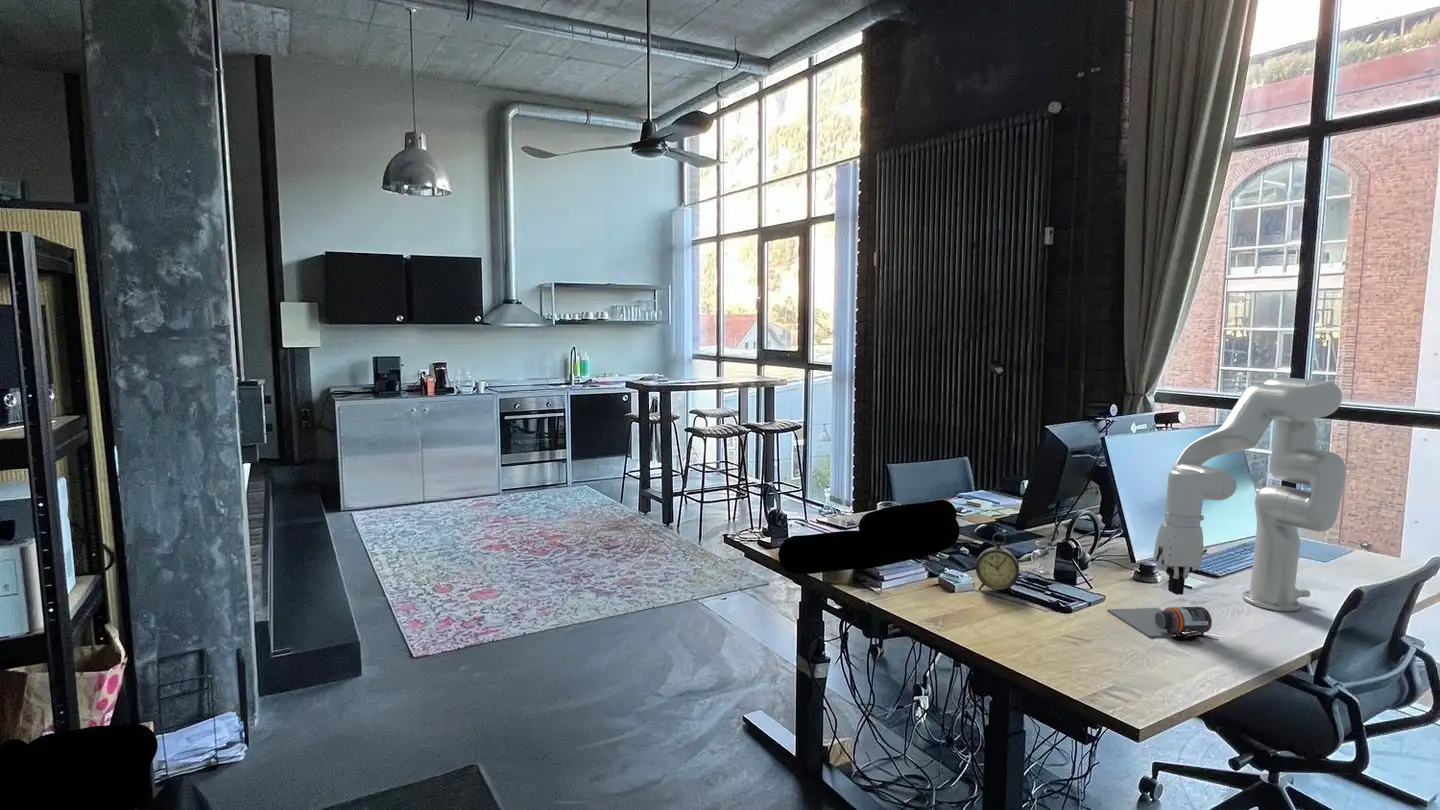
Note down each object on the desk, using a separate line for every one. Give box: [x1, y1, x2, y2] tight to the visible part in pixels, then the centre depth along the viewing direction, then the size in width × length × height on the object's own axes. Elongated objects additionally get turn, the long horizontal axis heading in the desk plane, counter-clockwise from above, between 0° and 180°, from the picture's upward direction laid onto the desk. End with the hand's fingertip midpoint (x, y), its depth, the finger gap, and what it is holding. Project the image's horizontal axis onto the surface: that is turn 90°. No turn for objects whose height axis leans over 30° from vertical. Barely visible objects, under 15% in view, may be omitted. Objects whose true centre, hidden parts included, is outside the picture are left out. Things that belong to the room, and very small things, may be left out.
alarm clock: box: [975, 532, 1020, 595], centre depth 209 cm, size 11×5×16 cm, turn 68°
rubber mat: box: [1106, 607, 1175, 639], centre depth 190 cm, size 14×16×1 cm
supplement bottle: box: [1155, 606, 1213, 633], centre depth 183 cm, size 6×6×11 cm
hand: (1175, 592), depth 190 cm, fingers closed
